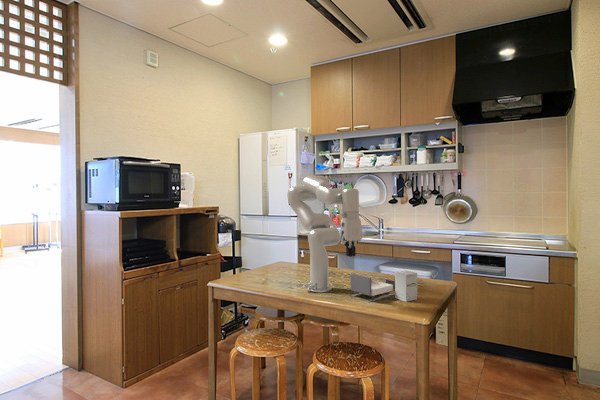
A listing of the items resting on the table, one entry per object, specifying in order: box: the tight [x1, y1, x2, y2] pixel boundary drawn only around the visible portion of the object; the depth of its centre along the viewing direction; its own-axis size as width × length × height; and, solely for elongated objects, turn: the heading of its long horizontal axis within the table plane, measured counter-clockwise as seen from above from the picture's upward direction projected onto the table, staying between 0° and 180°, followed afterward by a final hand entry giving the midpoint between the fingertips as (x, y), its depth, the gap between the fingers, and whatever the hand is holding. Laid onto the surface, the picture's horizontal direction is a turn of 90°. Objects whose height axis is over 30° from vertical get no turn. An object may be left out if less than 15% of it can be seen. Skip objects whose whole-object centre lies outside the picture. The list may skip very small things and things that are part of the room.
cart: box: [350, 272, 394, 299], centre depth 170 cm, size 15×14×10 cm
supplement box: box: [394, 270, 418, 303], centre depth 165 cm, size 7×7×13 cm
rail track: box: [350, 278, 395, 303], centre depth 174 cm, size 28×14×4 cm, turn 127°
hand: (350, 255), depth 162 cm, fingers closed
